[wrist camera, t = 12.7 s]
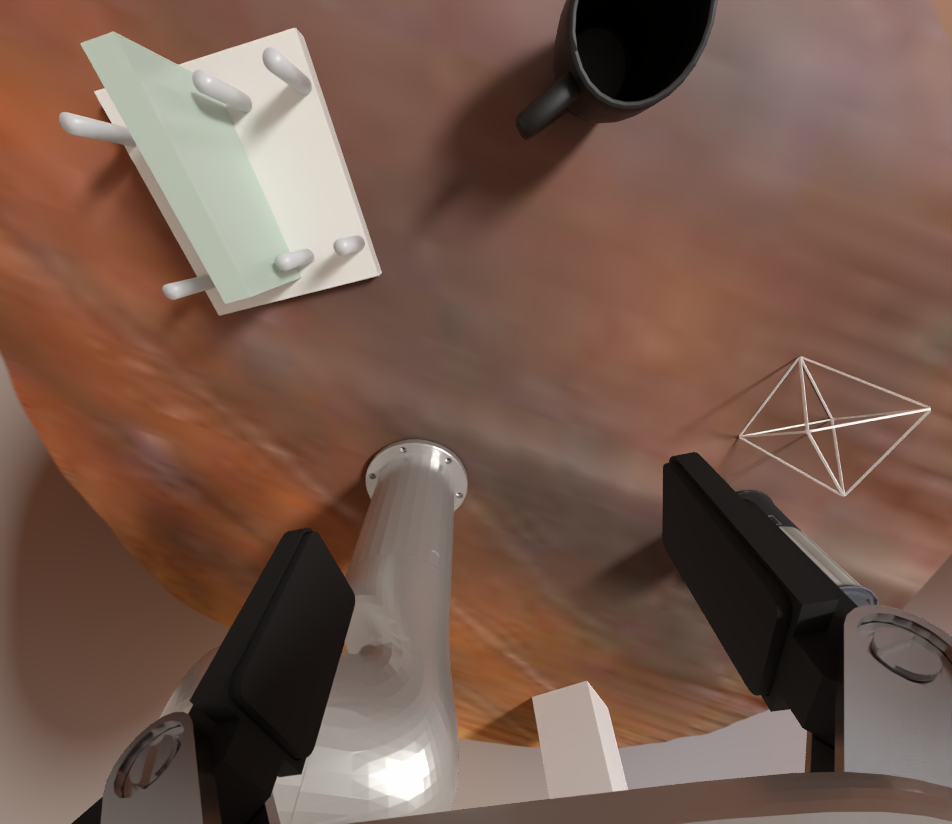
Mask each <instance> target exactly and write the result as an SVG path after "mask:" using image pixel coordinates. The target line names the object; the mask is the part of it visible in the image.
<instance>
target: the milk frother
mask: <svg viewBox="0 0 952 824" xmlns="http://www.w3.org/2000/svg"><path fill="white" fill-rule="evenodd" d="M737 494H738V495H739V496H740V497H741V498H742V499H749V500H751V501H752V502H754V503H755V504H756V505H757V506H758V507H759V508H760V509H761V510H762V511H763V512H764V513H765V514H766V515H767V516H768V517H769V518H770V519H771V520H772V521H773V522H774V523H775V524H776V525H777V526H778V527H779V528H780V529H781V530H782V531H783V532H784V533H785V534H786V535H787V536H788V537H789V538H790V539H791V540H792V541H793V542H794V543H795V544H796V545H797V546H798V547H799V548H800V549H801V550H802V551H803V552H804V553H805V554H806V555H807V556H808V557H809V558H810V559H811V560H812V561H813V562H814V563H815V564H816V565H817V566H818V567H819V568H820V569H821V570H822V571H823V572H824V573H825V574H826V575H827V576H828V577H829V578H830V579H831V580H832V581H833V582H834V583H835V584H836V585H837V586H838V587H839V588H840V589H841V590H842V591H843V592H844V593H845V594H846V595H847V596H848V597H849V598H850V599H851V600H852V601H853V602H854V603H855V604H856V605H857V606H858V607H861V606H865V605H878V603H879V602H878V598H877V597H876V595H875V594H874V593H873V592H872V591H871V590H869V589H867V588H864V587H862V586H861V585H860V584H859V583H857V582H856V581H855V580H854V579H853V578H852V577H851V576H850V575H849V574H848V573H847V572H845V571H844V570H843V569H842V568H841V567H840V566H839V565H838V564H837V563H836V562H835V561H834V560H833V559H831V558H830V557H829V556H828V555H827V554H826V553H825V552H824V551H823V550H822V549H821V548H820V547H819V546H817V545H816V544H815V543H814V542H813V541H812V540H811V539H810V538H809V537H808V536H806V535H805V534H804V533H803V532H802V531H801V530H800V529H799V528H798V527H796V526H795V525H794V524H793V523H792V522H791V521H790V520H789V519H788V518H787V517H786V516H785V515H784V514H783V513H782V512H781V511H780V510H779V509H778V508H777V507H776V506H775V505H774V504H773V502H772V500H771V499H770V497H768V496H767V495H766V494H764V493H762V492H758V491H751V490H750V491H741V492H737Z"/></svg>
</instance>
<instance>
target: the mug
mask: <svg viewBox="0 0 952 824" xmlns="http://www.w3.org/2000/svg"><path fill="white" fill-rule="evenodd" d="M717 1H718V0H566V3H565V5H564V8H563V11H562V13H561V17H560V21H559V25H558V30H557V35H556V40H555V48H554V73H555V80H556V82H555V83H554V84H553V85H552V86H550V87H549V88H548V89H547V90H546V91H544V92H543V93H542V94H541V95H540V96H539V97H538V98H536V99H535V100H534V101H533V102H532V103H531V104H529V105H528V106H527V107H526V108H525V109H524V110H523V111H522V112H521V113H520V114H519V115H518V116H517V118H516V120H515V121H516V126H517V128H518V131H519V133H520V134H521V136H522V137H523V138H524V139H525V140H528V139H530V138H532V137H533V136H535V135H536V134H538V133H539V132H540V131H542V130H543V129H545V128H546V127H547V126H549V125H550V124H551V123H553V122H554V121H555V120H557V119H558V118H559V117H560V116H562V115H563V114H564V113H565V112H566V111H568V110H569V111H570V112H571V113H572V114H574V115H576V116H578V117H580V118H581V119H583V120H586V121H591V122H595V123H610V122H617V121H621V120H624V119H627V118H630V117H633V116H635V115H637V114H639V113H641V112H643V111H644V110H646V109H648V108H650V107H651V106H653V105H655V104H656V103H658V102H659V101H661V100H663V99H664V98H666V97H667V96H669V95H670V94H671V93H672V92H673V91H674V90H675V89H676V88H677V87H678V86H680V85H681V84H682V83H683V81H684V80H685V79H686V77H687V76H688V75H689V73H690V72H691V71H692V69H693V68H694V67H695V65H696V63H697V61H698V59H699V57H700V56H701V54H702V52H703V50H704V48H705V46H706V44H707V41H708V38H709V35H710V32H711V29H712V26H713V23H714V18H715V12H716V7H717Z"/></svg>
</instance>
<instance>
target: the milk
mask: <svg viewBox="0 0 952 824" xmlns="http://www.w3.org/2000/svg"><path fill="white" fill-rule="evenodd" d="M532 700H533V706H534V712H535V718H536V724H537V729H538V735H539V741H540V747H541V752H542V759H543V764H544V770H545V776H546V782H547V788H548V793H549V799H554V798H562V797H571V796H580V795H588V794H597V793H606V792H615V791H623V790H628V788H627V784H626V780H625V775H624V772H623V767H622V764H621V759H620V755H619V751H618V747H617V743H616V739H615V735H614V731H613V727H612V723H611V719H610V714H609V710H608V707H607V706H606V705H605V704H604V702H603V701H602V700H601V698H600V697H599V696H598V694H597V693H596V692H595V691H594V689H593V688H592V687H591V685H590V684H589V683H588V681H584V682H581V683H578V684H574V685H571V686H568V687H564V688H561V689H558V690H554V691H551V692H548V693H545V694H541V695H538V696H535V697H532Z"/></svg>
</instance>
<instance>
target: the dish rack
mask: <svg viewBox="0 0 952 824" xmlns="http://www.w3.org/2000/svg"><path fill="white" fill-rule="evenodd" d="M179 66H181V67H183V68H185V69H187V70H189V71H191V72H193V75H192V80H193V84H194V86H195V88H196V89H197V90H198V91H199V92H200V93H202V94H205V95H207V96H209V97H211V98H213V99H216V100H218V101H220V102H222V103H224V105H225V107H226V109H227V111H228V113H229V116H230V118H231V120H232V122H233V125H234V127H235V129H236V131H237V134H238V136H239V138H240V140H241V143H242V145H243V147H244V149H245V152H246V154H247V156H248V158H249V161H250V163H251V165H252V167H253V170H254V172H255V174H256V176H257V179H258V181H259V183H260V185H261V188H262V190H263V192H264V194H265V197H266V199H267V201H268V203H269V206H270V208H271V210H272V212H273V215H274V217H275V219H276V221H277V224H278V226H279V228H280V230H281V233H282V235H283V237H284V239H285V242H286V244H287V246H288V248H289V250H290V252H288V253H284V254H279V255H277V256H276V258H275V264H276V266H277V267H278V268H279V269H280V270H282V271H287V270H290V269H293V268H298V271H299V273H300V275H301V278H299V279H296V280H294V281H291V282H288V283H286V284H283V285H281V286H278V287H276V288H273V289H270V290H268V291H265V292H263V293H260V294H258V295H255V296H252V297H249V298H246V299H242V300H238V301H234V302H231V303H227V304H225V303H224V301H223V299H222V297H221V296H220V294H219V292H218V290H217V288H216V287H215V285H214V283H213V281H212V279H211V278H210V276H209V274H208V272H207V270H206V269H205V267H204V265H203V263H202V261H201V260H200V258H199V256H198V254H197V252H196V251H195V249H194V247H193V245H192V243H191V242H190V240H189V238H188V236H187V234H186V233H185V231H184V229H183V227H182V225H181V224H180V222H179V220H178V218H177V216H176V215H175V213H174V211H173V209H172V207H171V206H170V204H169V202H168V200H167V198H166V197H165V195H164V193H163V191H162V189H161V188H160V186H159V184H158V182H157V180H156V179H155V177H154V175H153V173H152V171H151V170H150V168H149V166H148V164H147V163H146V161H145V159H144V157H143V155H142V154H141V152H140V150H139V148H138V146H137V145H136V143H135V141H134V139H133V137H132V136H131V134H130V132H129V130H128V128H127V127H126V125H125V123H124V121H123V119H122V118H121V116H120V114H119V112H118V110H117V109H116V107H115V105H114V103H113V101H112V100H111V98H110V96H109V94H108V92H107V91H106V89H105V88H104V89H101V90H97V91H94V93H95V94H96V96H97V98H98V100H99V101H100V103H101V105H102V107H103V109H104V110H105V112H106V114H107V116H108V118H109V119H110V121H111V123H112V124H111V123H107V122H103V121H99V120H95V119H91V118H87V117H83V116H80V115H76V114H72V113H68V112H62V113H61V114H60V115H59V122H60V124H61V126H62V128H63V129H64V130H65V131H66V132H68V133H69V134H72V135H77V136H82V137H87V138H92V139H97V140H102V141H107V142H112V143H117V144H122V145H124V146H125V148H126V150H127V152H128V153H129V155H130V157H131V159H132V161H133V162H134V164H135V166H136V168H137V170H138V171H139V173H140V175H141V177H142V179H143V180H144V182H145V184H146V186H147V188H148V189H149V191H150V193H151V195H152V197H153V198H154V200H155V202H156V204H157V205H158V207H159V209H160V211H161V213H162V214H163V216H164V218H165V220H166V222H167V223H168V225H169V227H170V229H171V231H172V232H173V234H174V236H175V238H176V240H177V241H178V243H179V245H180V247H181V249H182V250H183V252H184V254H185V256H186V258H187V259H188V261H189V263H190V265H191V266H192V268H193V270H194V272H195V274H196V275H197V277H195V278H190V279H186V280H182V281H178V282H173V283H169V284H165V285H164V286H163V289H162V290H163V293H164V295H165V296H166V297H168V298H169V299H172V300H175V299H178V298H182V297H185V296H189V295H192V294H195V293H199V292H202V291H205V292H206V293H207V295H208V297H209V299H210V301H211V302H212V304H213V306H214V308H215V310H216V311H217V313H218V315H219V316H220V315H224V314H228V313H232V312H236V311H240V310H244V309H248V308H252V307H256V306H260V305H264V304H268V303H272V302H276V301H280V300H284V299H288V298H292V297H296V296H300V295H304V294H308V293H312V292H316V291H320V290H324V289H328V288H332V287H336V286H340V285H344V284H348V283H352V282H356V281H359V280H363V279H367V278H371V277H375V276H379V275H380V274H382V272H381V269H380V266H379V263H378V260H377V257H376V254H375V251H374V248H373V245H372V242H371V239H370V236H369V233H368V230H367V227H366V224H365V221H364V217H363V214H362V211H361V208H360V205H359V202H358V199H357V196H356V193H355V190H354V187H353V184H352V181H351V178H350V175H349V172H348V169H347V166H346V163H345V160H344V157H343V154H342V151H341V148H340V145H339V142H338V139H337V136H336V133H335V130H334V127H333V124H332V121H331V118H330V115H329V112H328V109H327V106H326V103H325V100H324V97H323V94H322V91H321V88H320V85H319V82H318V79H317V76H316V72H315V69H314V66H313V63H312V60H311V57H310V54H309V51H308V48H307V45H306V42H305V39H304V36H303V35H302V34H301V33H300V32H299V31H298V30H297V29H296V28H292V29H289V30H286V31H283V32H280V33H276V34H273V35H270V36H267V37H264V38H261V39H258V40H255V41H251V42H248V43H245V44H242V45H239V46H236V47H233V48H229V49H226V50H223V51H220V52H217V53H214V54H211V55H207V56H204V57H201V58H198V59H195V60H192V61H189V62H185V63H182V64H179Z"/></svg>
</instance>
